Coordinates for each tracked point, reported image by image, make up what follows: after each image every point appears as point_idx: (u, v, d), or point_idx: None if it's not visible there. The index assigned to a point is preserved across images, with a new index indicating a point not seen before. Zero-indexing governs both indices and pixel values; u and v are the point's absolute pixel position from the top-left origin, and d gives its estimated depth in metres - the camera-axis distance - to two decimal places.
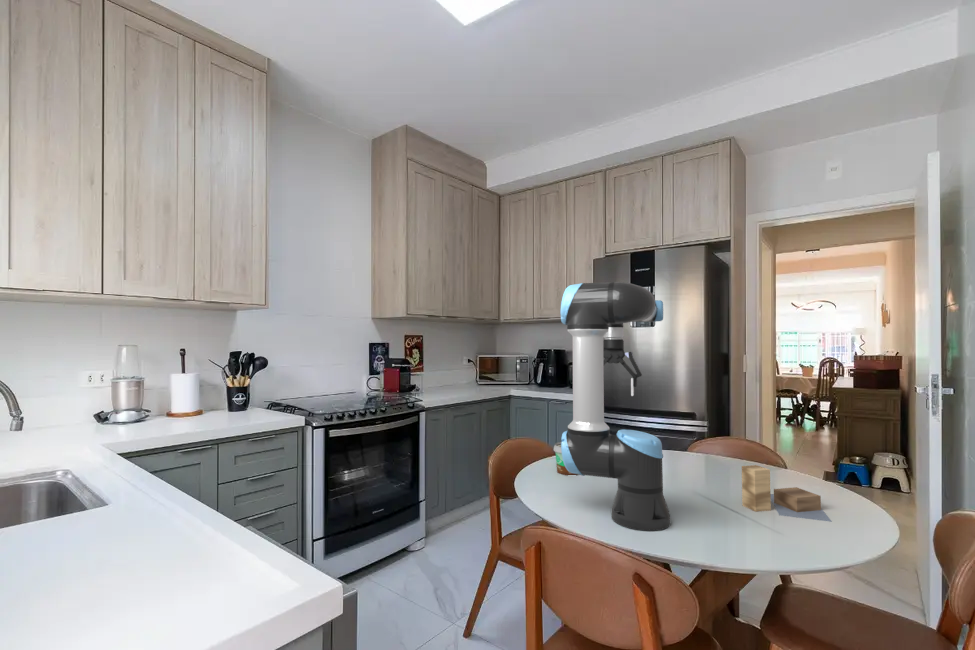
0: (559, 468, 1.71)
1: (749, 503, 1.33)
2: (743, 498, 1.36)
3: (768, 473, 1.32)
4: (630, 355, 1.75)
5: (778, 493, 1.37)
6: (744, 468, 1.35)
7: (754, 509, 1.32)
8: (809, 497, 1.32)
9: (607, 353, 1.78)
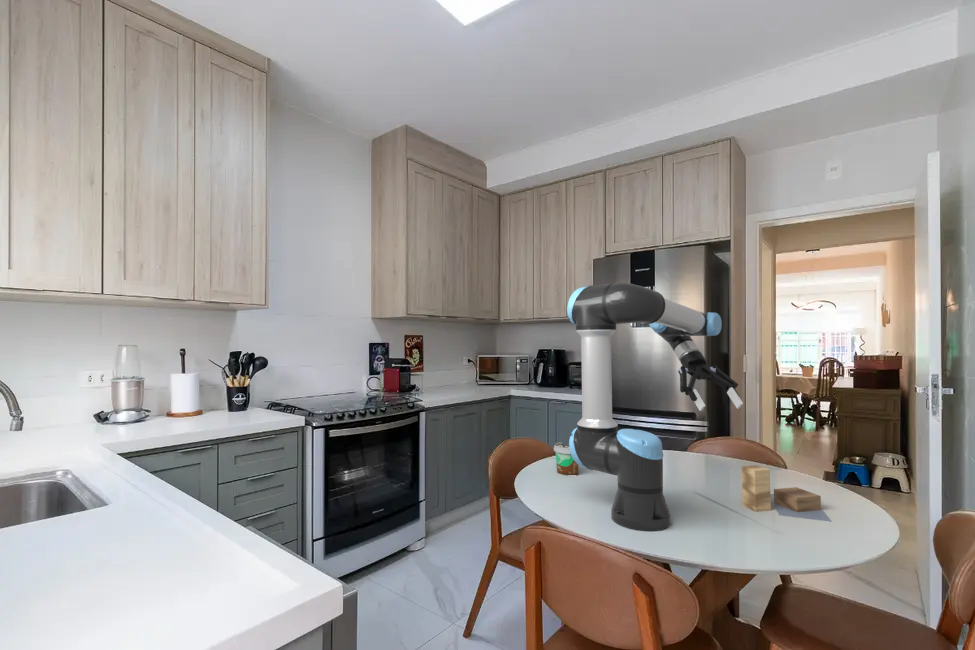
0: (559, 468, 1.71)
1: (749, 503, 1.33)
2: (743, 498, 1.36)
3: (768, 473, 1.32)
4: (716, 367, 1.59)
5: (778, 493, 1.37)
6: (744, 468, 1.35)
7: (754, 509, 1.32)
8: (809, 497, 1.32)
9: (693, 367, 1.57)
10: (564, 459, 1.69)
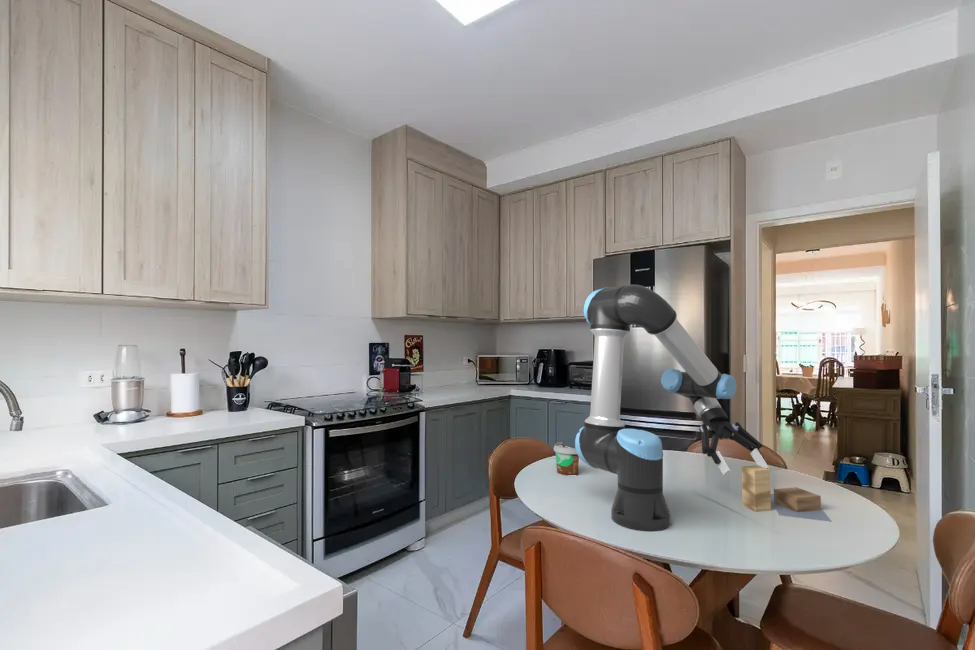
0: (559, 468, 1.71)
1: (749, 503, 1.33)
2: (743, 498, 1.36)
3: (768, 473, 1.33)
4: (739, 425, 1.51)
5: (778, 493, 1.37)
6: (744, 468, 1.35)
7: (754, 509, 1.32)
8: (809, 497, 1.32)
9: (715, 425, 1.50)
10: (564, 459, 1.69)
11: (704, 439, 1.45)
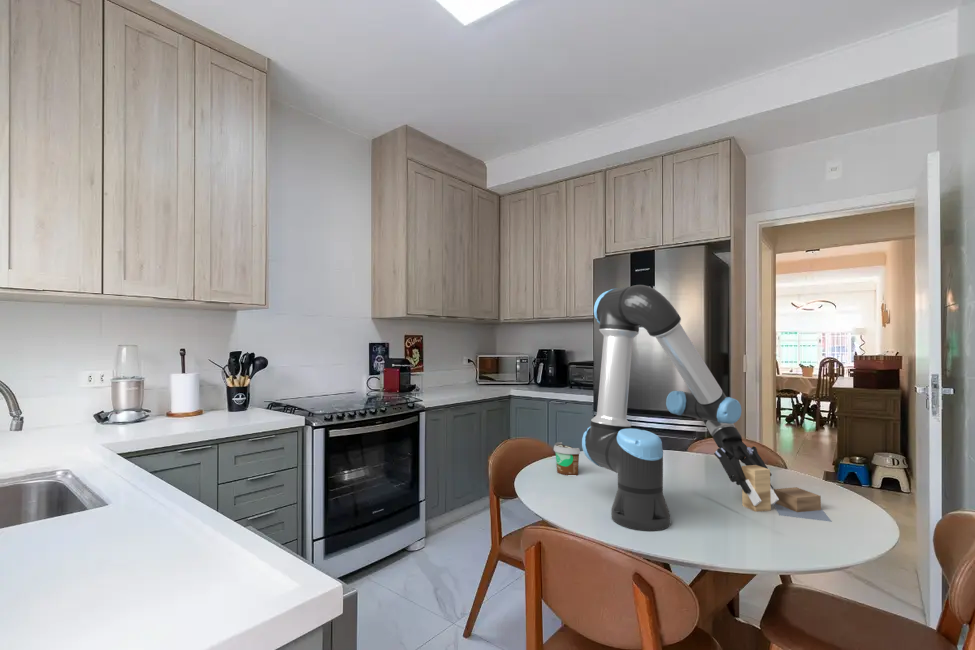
0: (559, 468, 1.71)
1: (749, 503, 1.33)
2: (743, 498, 1.36)
3: (768, 473, 1.32)
4: (755, 450, 1.42)
5: (778, 493, 1.37)
6: (744, 468, 1.35)
7: (754, 509, 1.32)
8: (809, 497, 1.32)
9: (727, 444, 1.42)
10: (564, 459, 1.69)
11: (727, 466, 1.37)
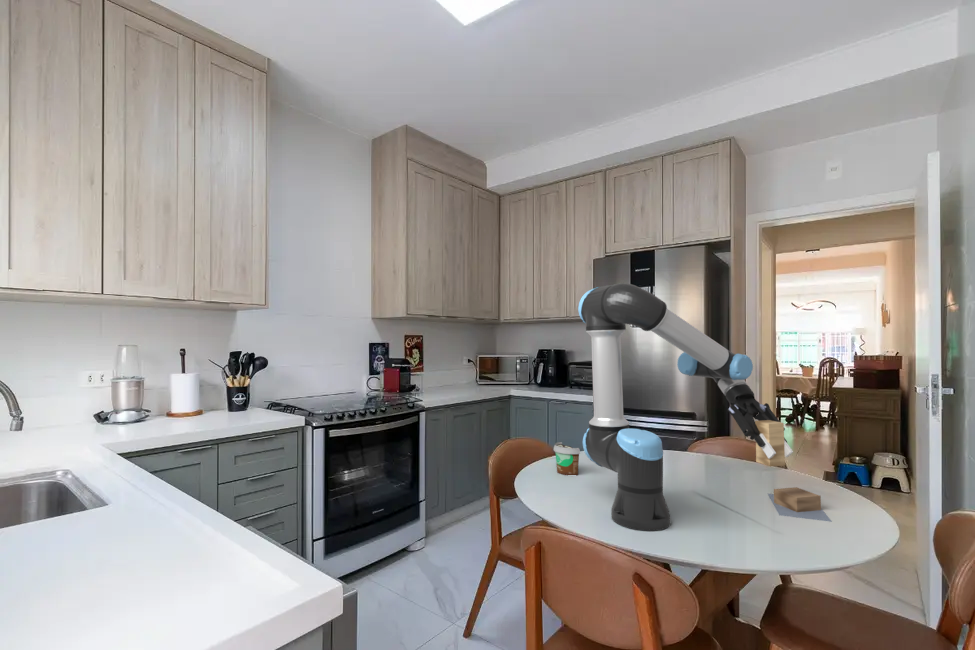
0: (559, 468, 1.71)
1: (763, 457, 1.35)
2: (757, 452, 1.37)
3: (782, 426, 1.34)
4: (767, 406, 1.44)
5: (778, 493, 1.37)
6: (758, 423, 1.37)
7: (768, 462, 1.33)
8: (809, 497, 1.32)
9: (740, 401, 1.44)
10: (564, 459, 1.69)
11: (741, 421, 1.38)
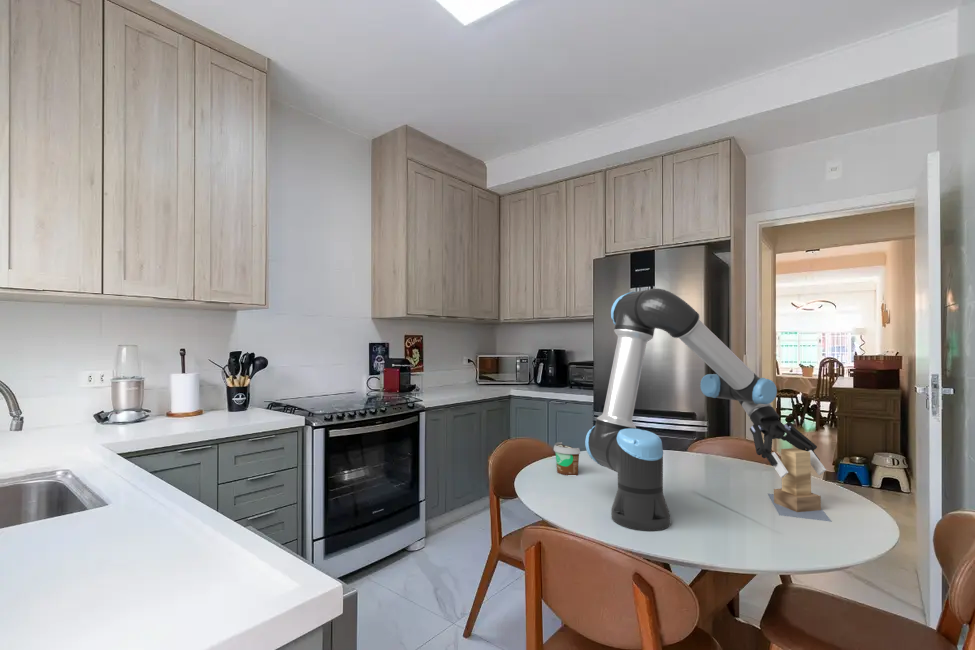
0: (559, 468, 1.71)
1: (790, 485, 1.35)
2: (783, 481, 1.37)
3: (808, 455, 1.34)
4: (791, 426, 1.45)
5: (778, 493, 1.37)
6: (784, 451, 1.37)
7: (795, 491, 1.33)
8: (809, 497, 1.32)
9: (767, 424, 1.44)
10: (564, 459, 1.69)
11: (757, 440, 1.39)
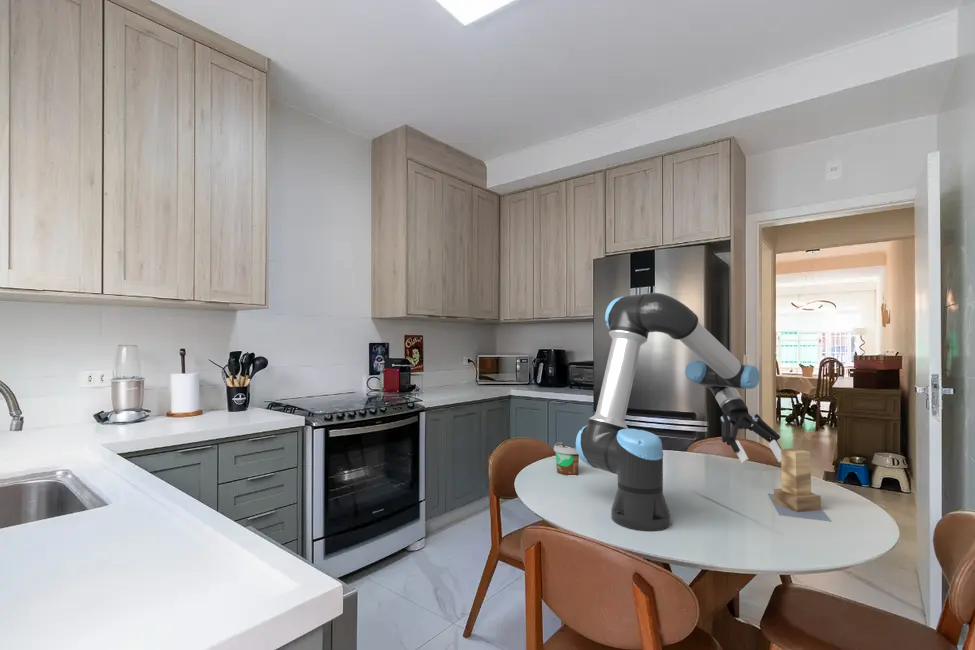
0: (559, 468, 1.71)
1: (790, 485, 1.35)
2: (783, 481, 1.37)
3: (808, 455, 1.34)
4: (758, 417, 1.57)
5: (778, 493, 1.37)
6: (784, 451, 1.37)
7: (795, 491, 1.33)
8: (809, 497, 1.32)
9: (736, 416, 1.56)
10: (564, 459, 1.69)
11: (724, 428, 1.52)
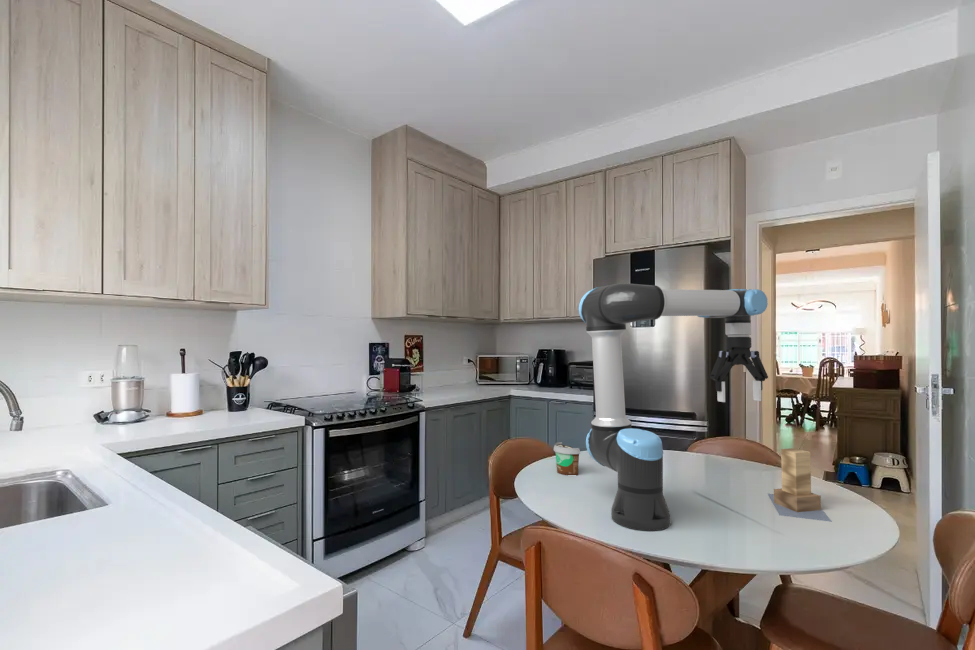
0: (559, 468, 1.71)
1: (790, 485, 1.35)
2: (783, 481, 1.37)
3: (808, 455, 1.34)
4: (757, 355, 1.54)
5: (778, 493, 1.37)
6: (784, 451, 1.37)
7: (795, 491, 1.33)
8: (809, 497, 1.32)
9: (735, 353, 1.53)
10: (564, 459, 1.69)
11: (717, 367, 1.51)
